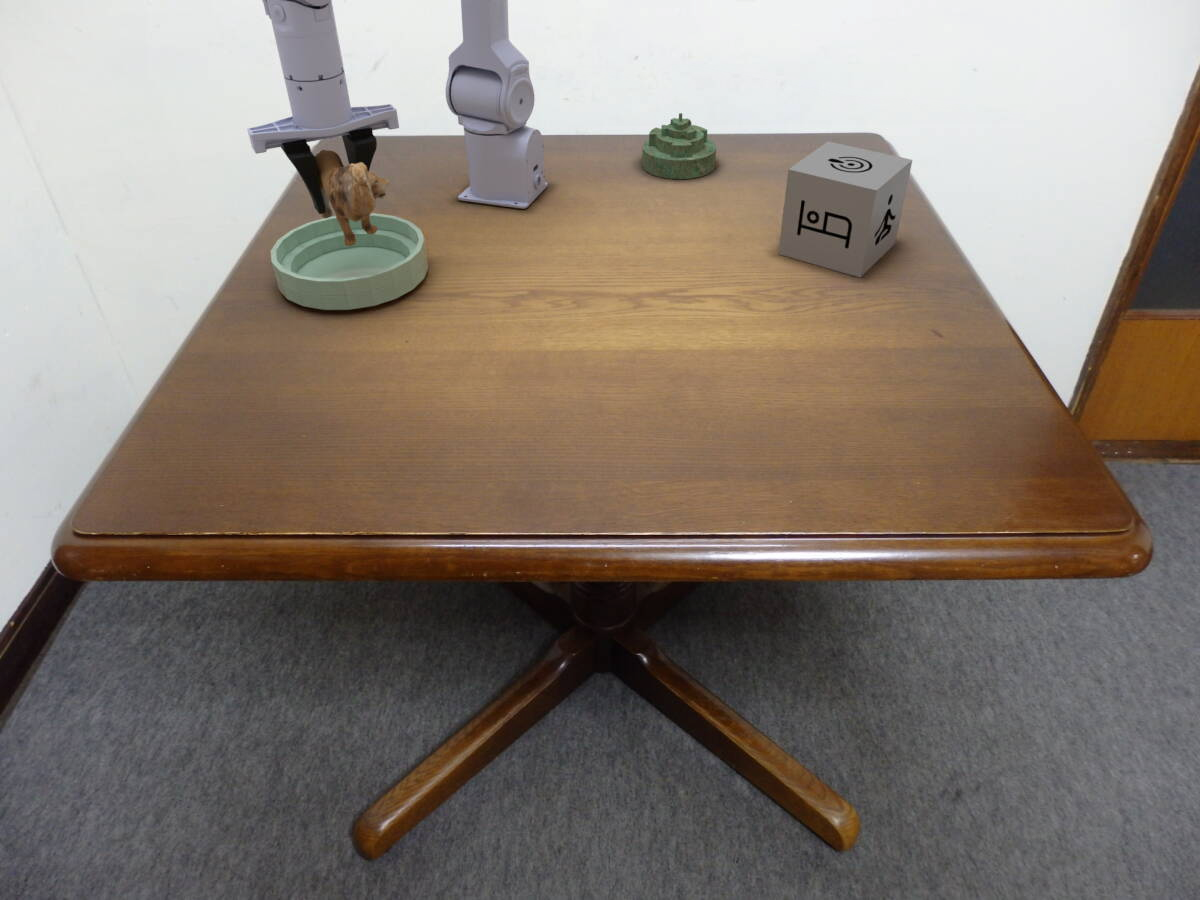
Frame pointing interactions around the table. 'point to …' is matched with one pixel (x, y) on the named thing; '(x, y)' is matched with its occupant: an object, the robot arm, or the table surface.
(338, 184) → the lion figurine
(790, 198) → the icon cube
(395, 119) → the robot arm
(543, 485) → the table surface
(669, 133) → the decorative artifact
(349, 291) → the bowl
